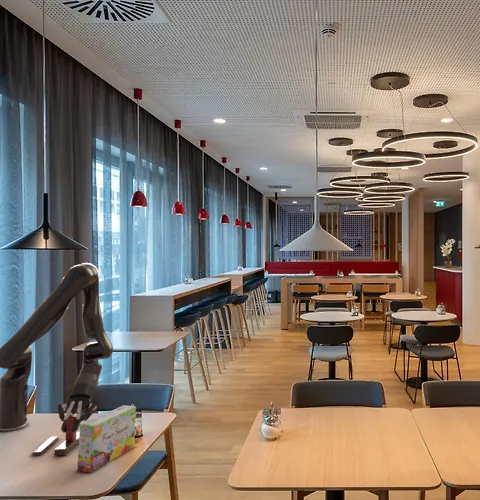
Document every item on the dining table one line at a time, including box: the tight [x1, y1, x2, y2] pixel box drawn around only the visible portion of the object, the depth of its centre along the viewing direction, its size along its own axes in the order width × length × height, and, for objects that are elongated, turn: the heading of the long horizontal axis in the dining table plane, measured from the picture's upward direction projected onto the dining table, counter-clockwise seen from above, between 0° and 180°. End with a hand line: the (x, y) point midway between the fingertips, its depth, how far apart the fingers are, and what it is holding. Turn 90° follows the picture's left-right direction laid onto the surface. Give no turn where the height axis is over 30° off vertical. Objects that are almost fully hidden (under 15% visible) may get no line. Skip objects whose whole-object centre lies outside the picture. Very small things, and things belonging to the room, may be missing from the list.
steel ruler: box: [32, 436, 59, 457], centre depth 166 cm, size 2×14×1 cm, turn 11°
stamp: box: [53, 416, 80, 456], centre depth 167 cm, size 4×16×10 cm, turn 7°
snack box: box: [77, 404, 137, 473], centre depth 158 cm, size 21×6×15 cm, turn 168°
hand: (68, 431), depth 165 cm, fingers closed on stamp, 2 cm apart
